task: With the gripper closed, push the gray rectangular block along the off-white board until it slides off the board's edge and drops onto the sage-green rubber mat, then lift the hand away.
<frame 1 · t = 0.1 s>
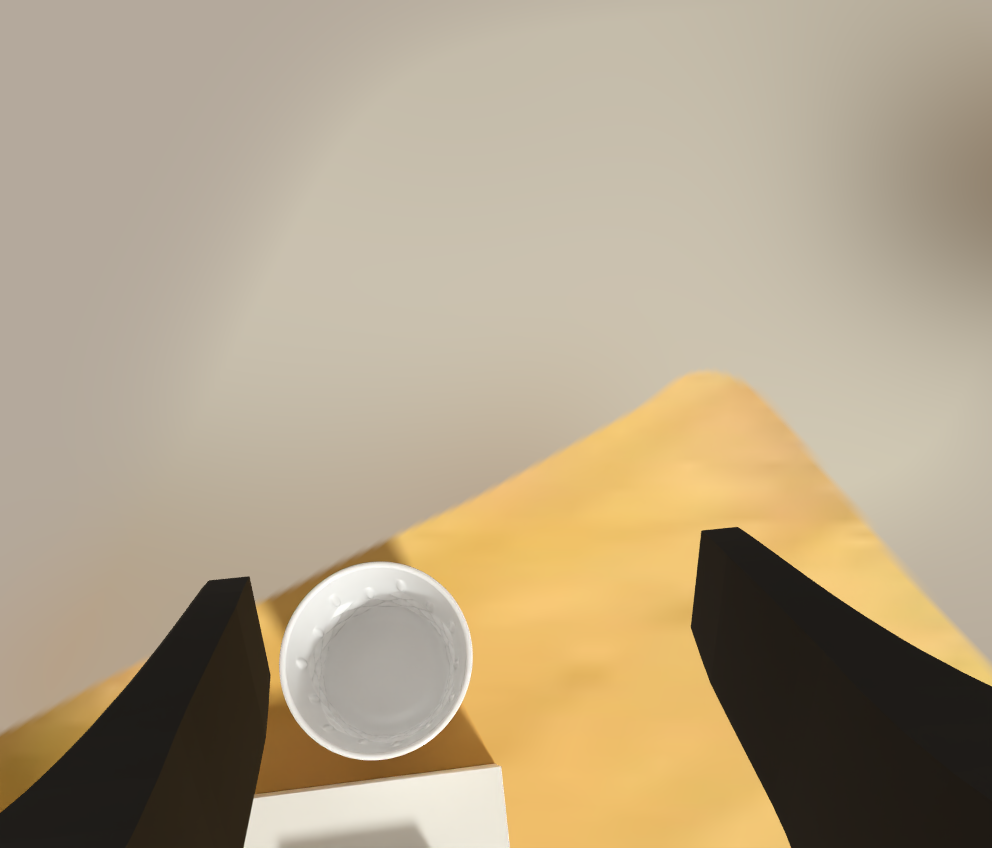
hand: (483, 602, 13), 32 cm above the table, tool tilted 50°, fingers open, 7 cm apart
white cup: (389, 673, 43), on the table
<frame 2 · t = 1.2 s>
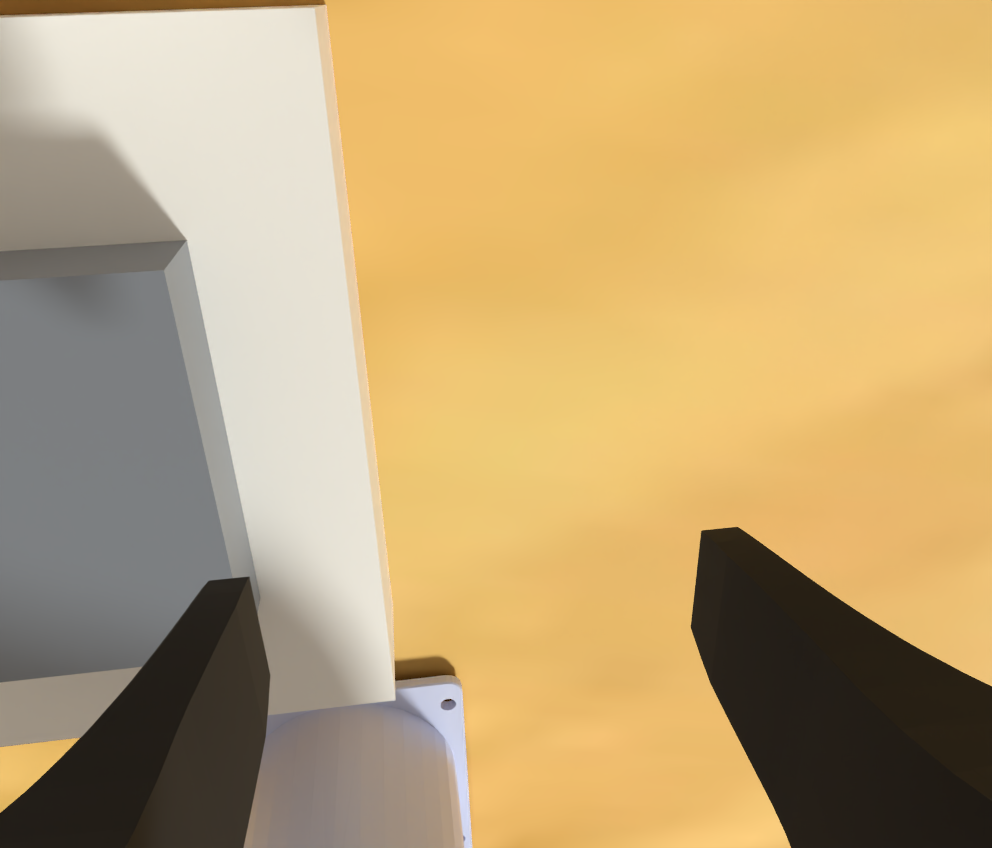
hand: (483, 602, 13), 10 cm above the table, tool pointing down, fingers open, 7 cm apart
gray rectangular block: (87, 451, 18), point 4 cm above the table, touching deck
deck: (134, 376, 21), on the table
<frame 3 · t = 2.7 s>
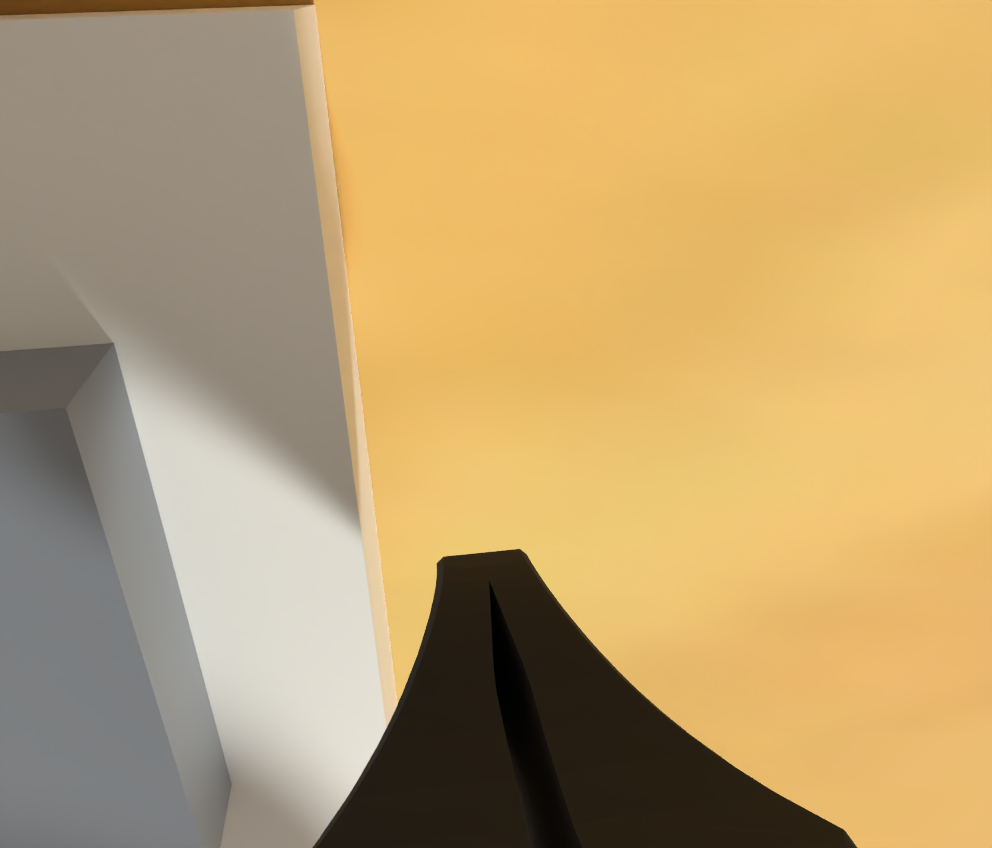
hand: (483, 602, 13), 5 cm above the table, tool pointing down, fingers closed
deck: (70, 485, 17), on the table
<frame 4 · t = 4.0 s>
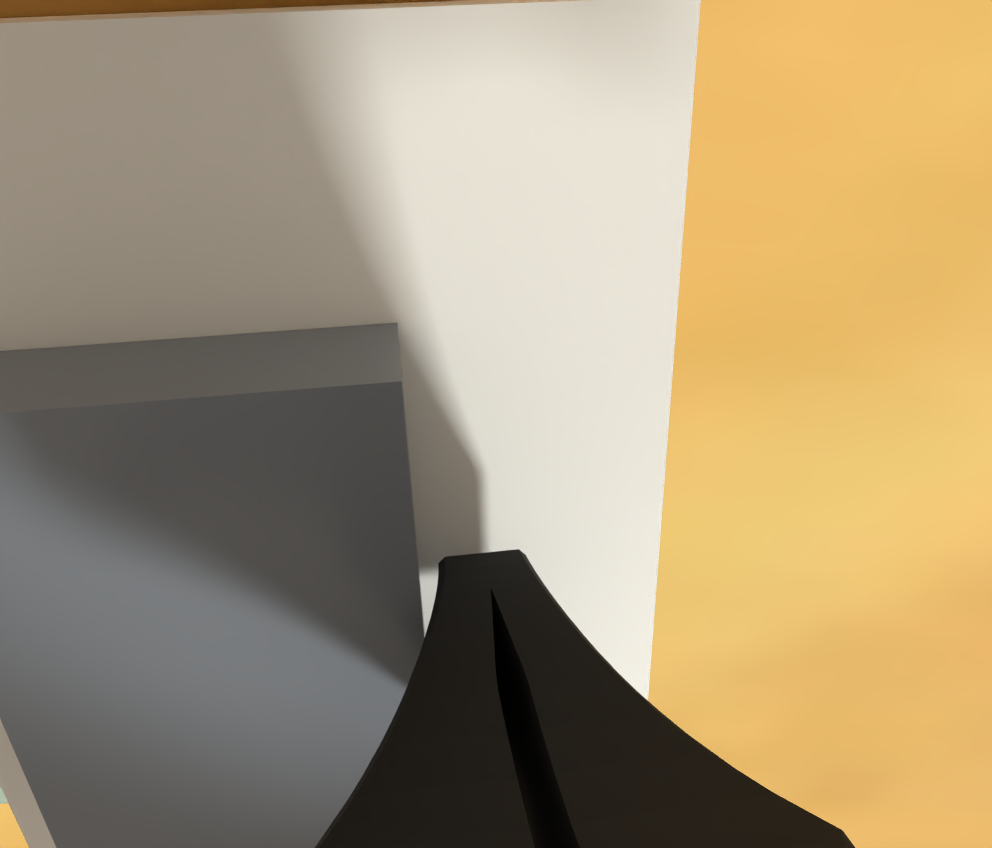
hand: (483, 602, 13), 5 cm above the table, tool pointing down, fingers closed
gray rectangular block: (237, 593, 13), point 4 cm above the table, touching gripper
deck: (322, 464, 17), on the table
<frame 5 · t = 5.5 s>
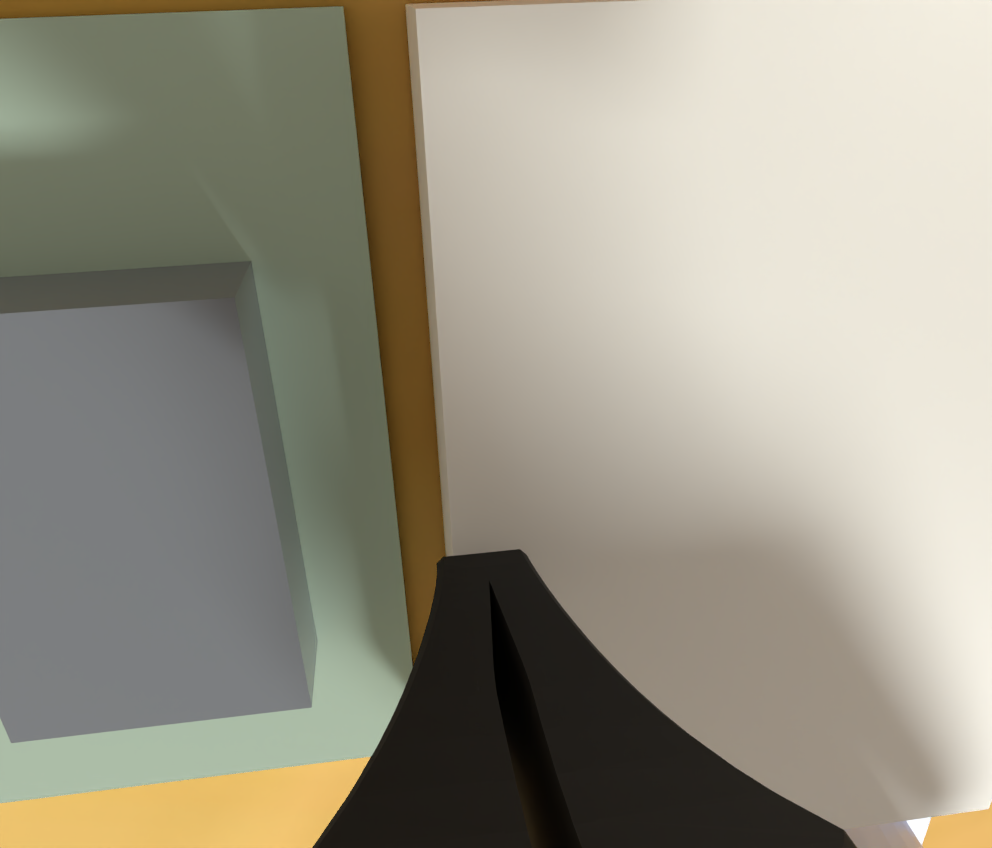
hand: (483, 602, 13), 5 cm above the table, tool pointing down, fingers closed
gray rectangular block: (109, 547, 15), point 2 cm above the table, tilted 180°, touching mat
mat: (120, 482, 17), on the table
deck: (711, 429, 18), on the table
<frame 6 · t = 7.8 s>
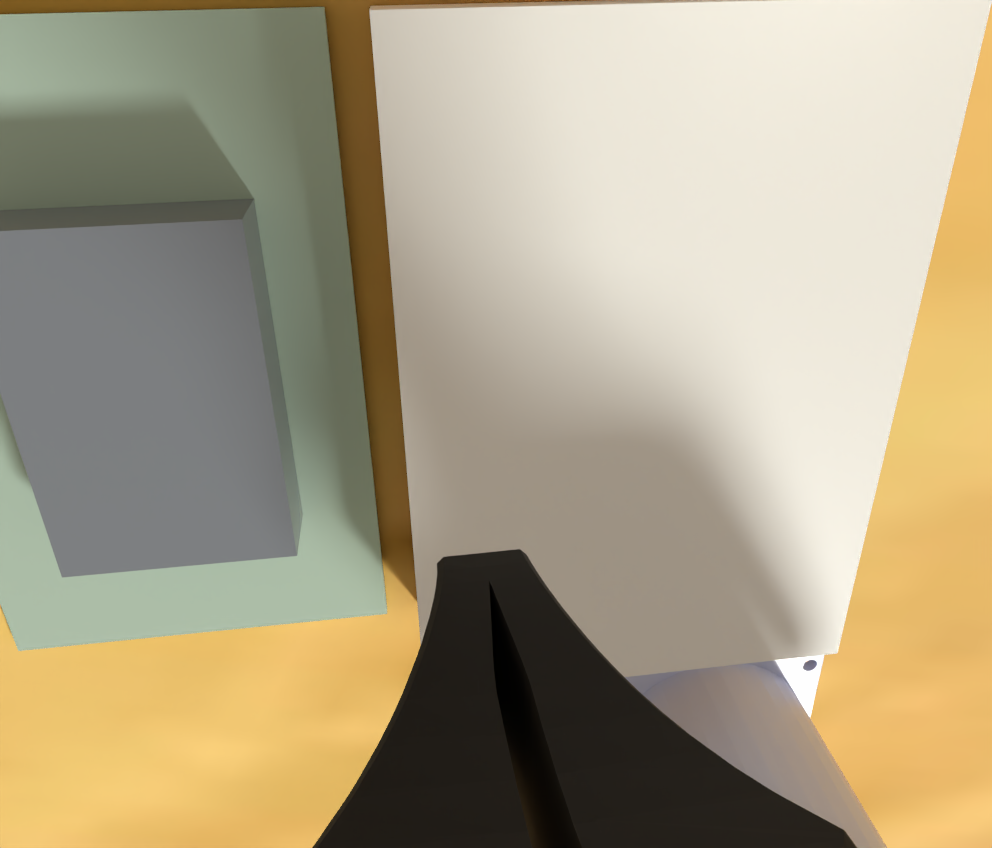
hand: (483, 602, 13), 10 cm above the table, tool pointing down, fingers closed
gray rectangular block: (143, 414, 19), point 2 cm above the table, tilted 180°, touching mat
mat: (149, 376, 21), on the table
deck: (615, 344, 23), on the table
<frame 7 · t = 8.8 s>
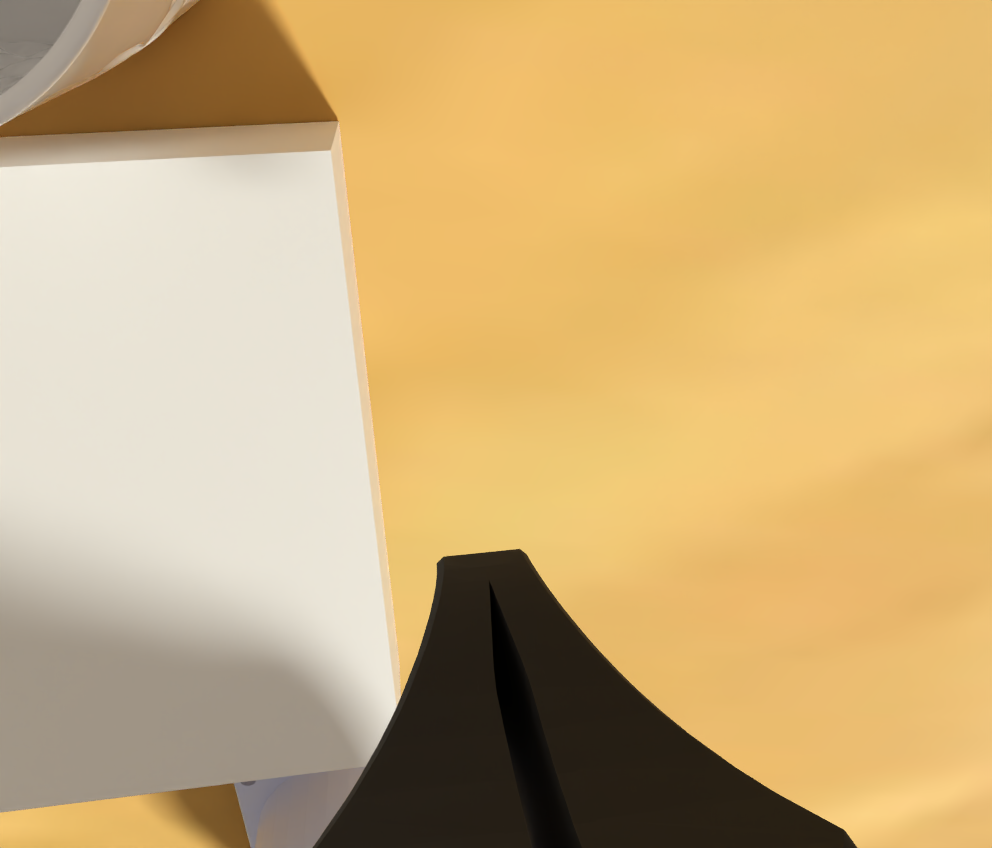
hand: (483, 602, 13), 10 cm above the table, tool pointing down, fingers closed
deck: (155, 457, 23), on the table
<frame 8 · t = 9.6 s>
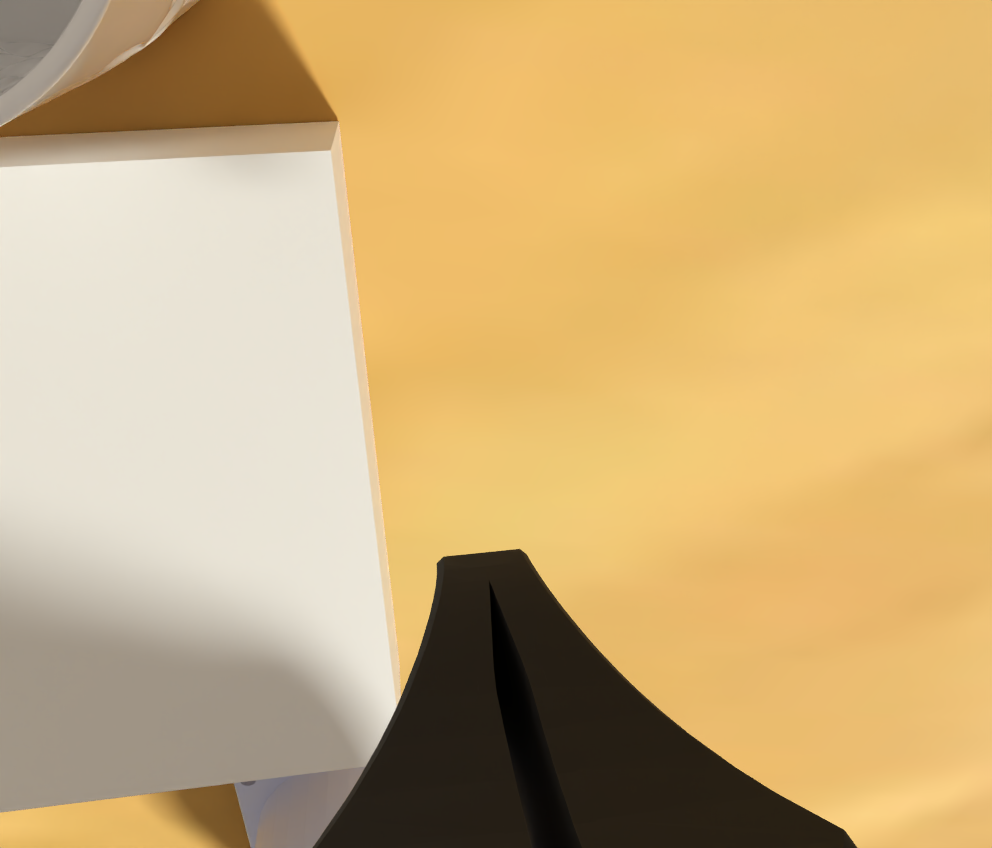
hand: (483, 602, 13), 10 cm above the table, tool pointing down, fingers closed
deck: (155, 457, 23), on the table
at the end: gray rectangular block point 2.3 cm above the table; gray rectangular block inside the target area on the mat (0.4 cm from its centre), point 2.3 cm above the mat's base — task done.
